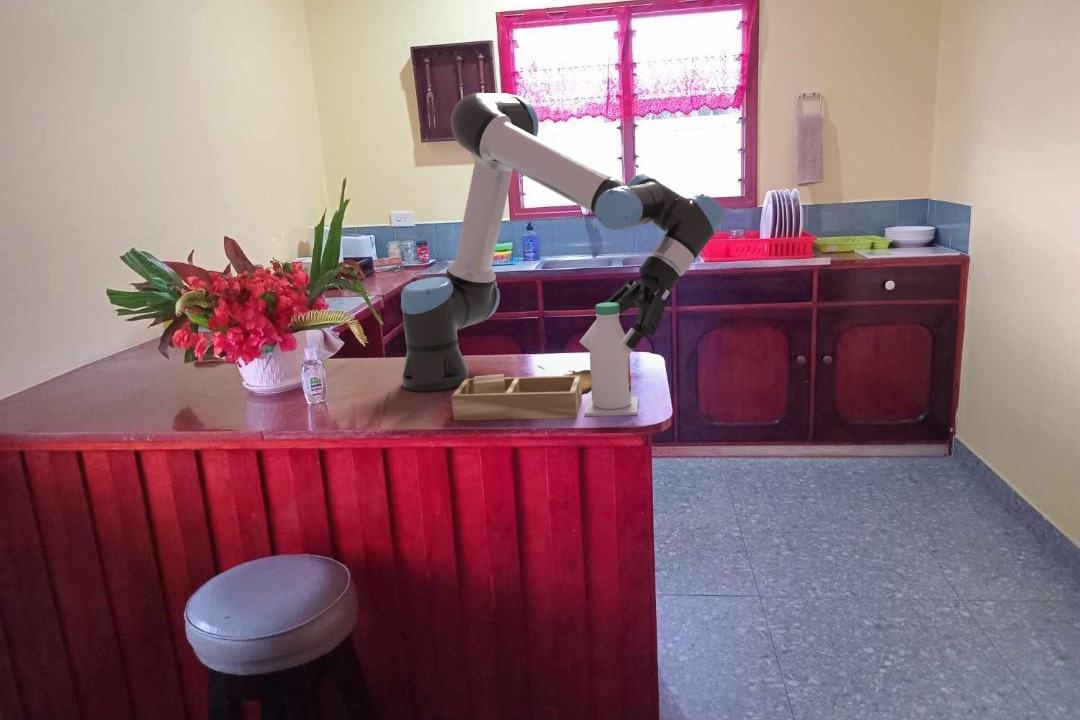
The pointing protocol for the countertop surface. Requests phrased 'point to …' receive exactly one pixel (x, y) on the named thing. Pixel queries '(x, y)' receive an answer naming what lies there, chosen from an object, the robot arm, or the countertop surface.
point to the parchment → (583, 379)
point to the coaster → (628, 410)
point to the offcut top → (489, 384)
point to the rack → (520, 399)
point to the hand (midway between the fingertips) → (599, 353)
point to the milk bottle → (608, 361)
